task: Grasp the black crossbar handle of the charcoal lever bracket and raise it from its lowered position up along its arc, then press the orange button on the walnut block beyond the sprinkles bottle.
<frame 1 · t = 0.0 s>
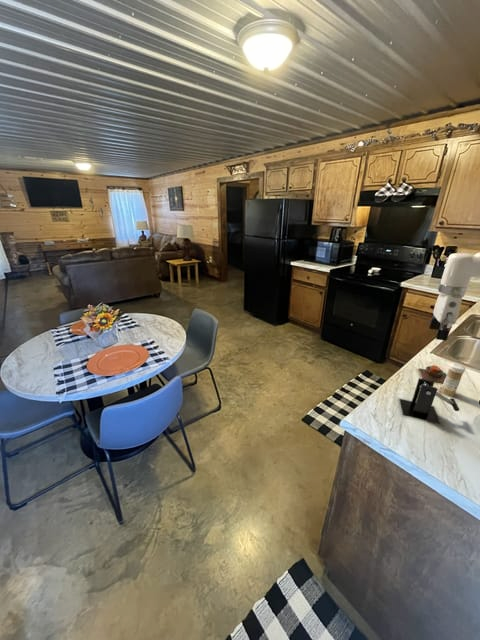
hand: (437, 334, 98), 25 cm above the counter, tool pointing down, fingers open, 9 cm apart
lever: (439, 395, 89), point 9 cm above the counter, hinge at -25.0°
button block: (433, 378, 114), on the counter
sprinkles bottle: (446, 394, 104), on the counter
button: (435, 369, 113), point 4 cm above the counter, slide at 0.1 cm
bracket: (417, 412, 94), on the counter
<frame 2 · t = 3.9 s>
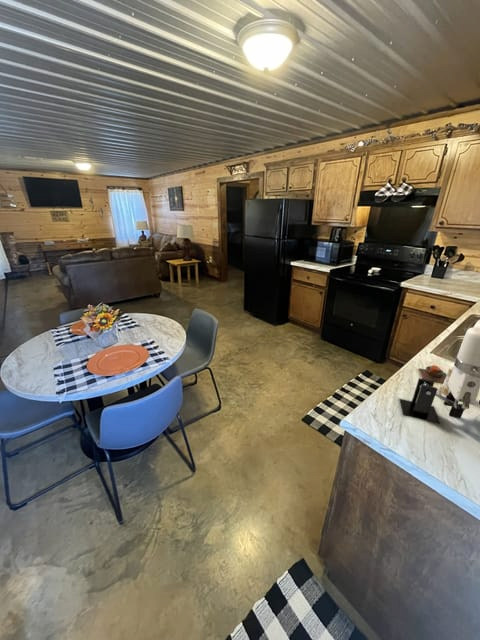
hand: (451, 410, 90), 4 cm above the counter, tool pointing down, fingers closed on lever, 5 cm apart
lever: (439, 395, 89), point 9 cm above the counter, hinge at -25.0°, touching gripper
everything else where it was.
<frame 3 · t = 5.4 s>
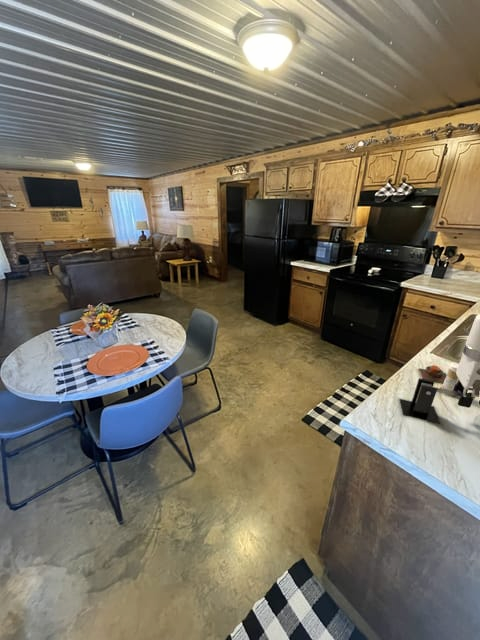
hand: (460, 400, 87), 9 cm above the counter, tool pointing down, fingers closed on lever, 5 cm apart
lever: (442, 390, 88), point 11 cm above the counter, hinge at 1.7°, touching gripper
everything else where it was.
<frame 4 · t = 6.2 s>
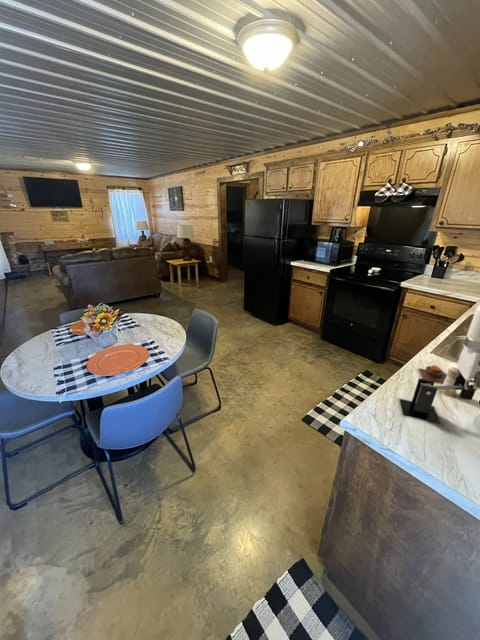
hand: (461, 392, 86), 12 cm above the counter, tool pointing down, fingers closed on lever, 5 cm apart
lever: (443, 387, 88), point 12 cm above the counter, hinge at 17.1°, touching gripper
everything else where it was.
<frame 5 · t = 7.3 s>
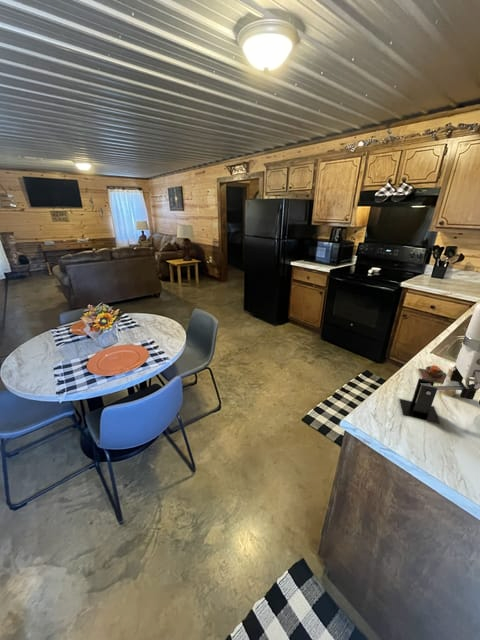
hand: (460, 389, 86), 13 cm above the counter, tool pointing down, fingers open, 9 cm apart
lever: (443, 387, 88), point 12 cm above the counter, hinge at 16.2°
everything else where it was.
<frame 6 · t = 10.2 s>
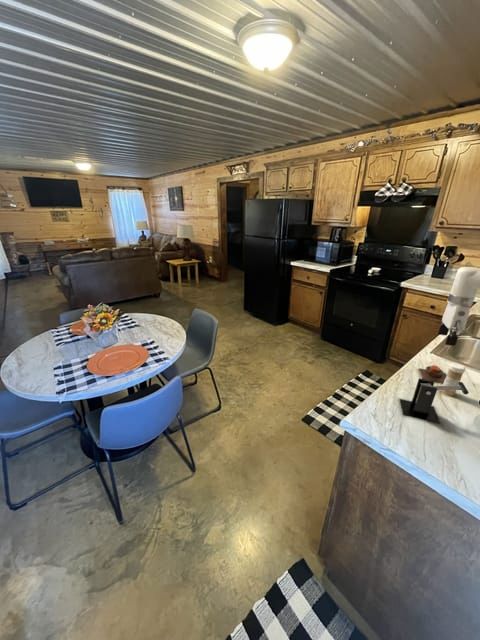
hand: (445, 339, 107), 19 cm above the counter, tool pointing down, fingers open, 9 cm apart
nothing on the counter moved.
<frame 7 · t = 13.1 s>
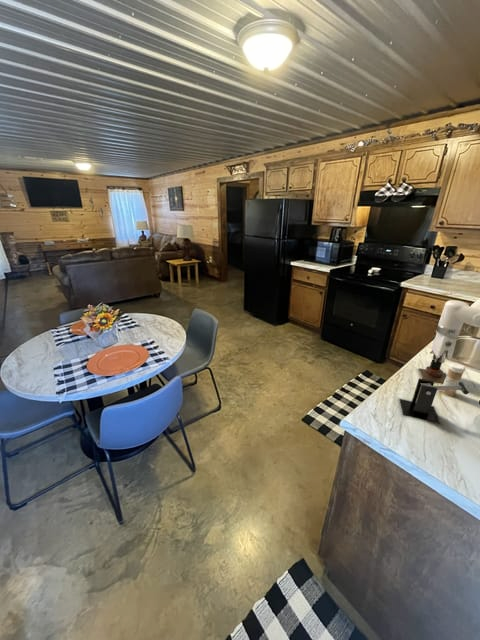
hand: (434, 368, 114), 4 cm above the counter, tool pointing down, fingers closed
button: (434, 370, 114), point 3 cm above the counter, slide at -0.7 cm, touching gripper
everything else where it was.
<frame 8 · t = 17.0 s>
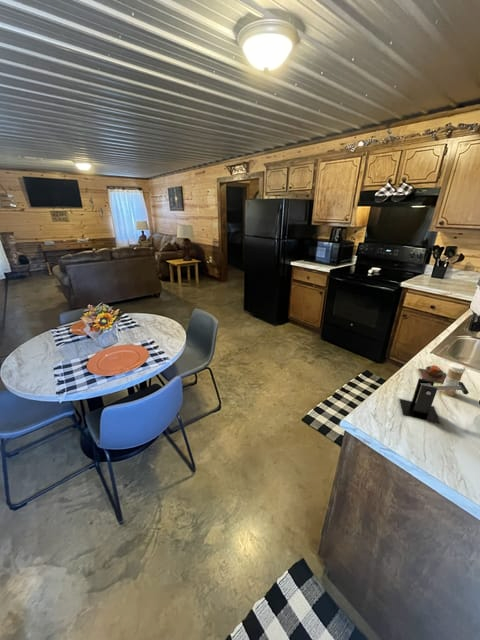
hand: (473, 330, 100), 25 cm above the counter, tool pointing down, fingers closed
button: (435, 369, 113), point 4 cm above the counter, slide at 0.1 cm
everything else where it was.
at the end: lever at +16° (first picture: -25°); button pushed in 1.1 cm at the most during the clip, back to where it started at the end; button slide at 0.1 cm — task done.
